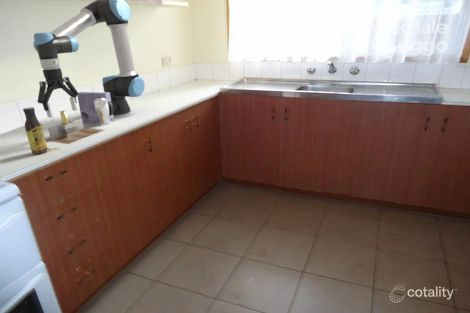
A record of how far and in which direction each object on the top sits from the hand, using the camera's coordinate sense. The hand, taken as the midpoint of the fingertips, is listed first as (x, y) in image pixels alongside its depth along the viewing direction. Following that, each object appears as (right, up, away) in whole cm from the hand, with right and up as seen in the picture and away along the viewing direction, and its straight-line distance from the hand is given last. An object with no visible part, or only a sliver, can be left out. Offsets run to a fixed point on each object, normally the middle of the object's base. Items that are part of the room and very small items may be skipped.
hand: (63, 113), depth 156 cm
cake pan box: (+6, -2, +28) cm, 29 cm away
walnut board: (+5, -11, +4) cm, 13 cm away
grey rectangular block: (-1, -11, +1) cm, 11 cm away
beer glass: (+12, -4, +21) cm, 25 cm away
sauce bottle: (-3, -19, -13) cm, 23 cm away
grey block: (+2, -9, +6) cm, 11 cm away
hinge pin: (+1, -10, +4) cm, 11 cm away
